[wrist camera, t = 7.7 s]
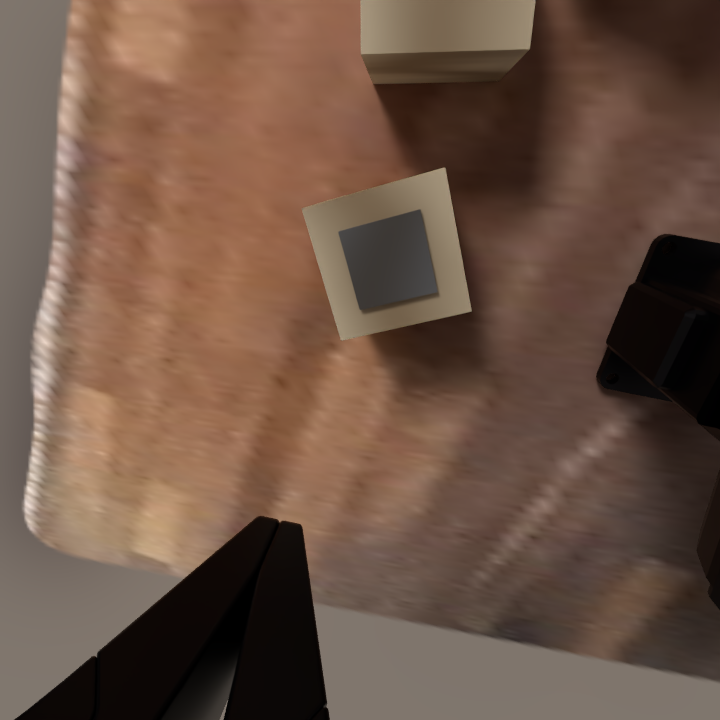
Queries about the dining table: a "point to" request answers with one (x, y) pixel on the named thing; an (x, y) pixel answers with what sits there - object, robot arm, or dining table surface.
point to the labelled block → (390, 255)
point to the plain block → (444, 39)
